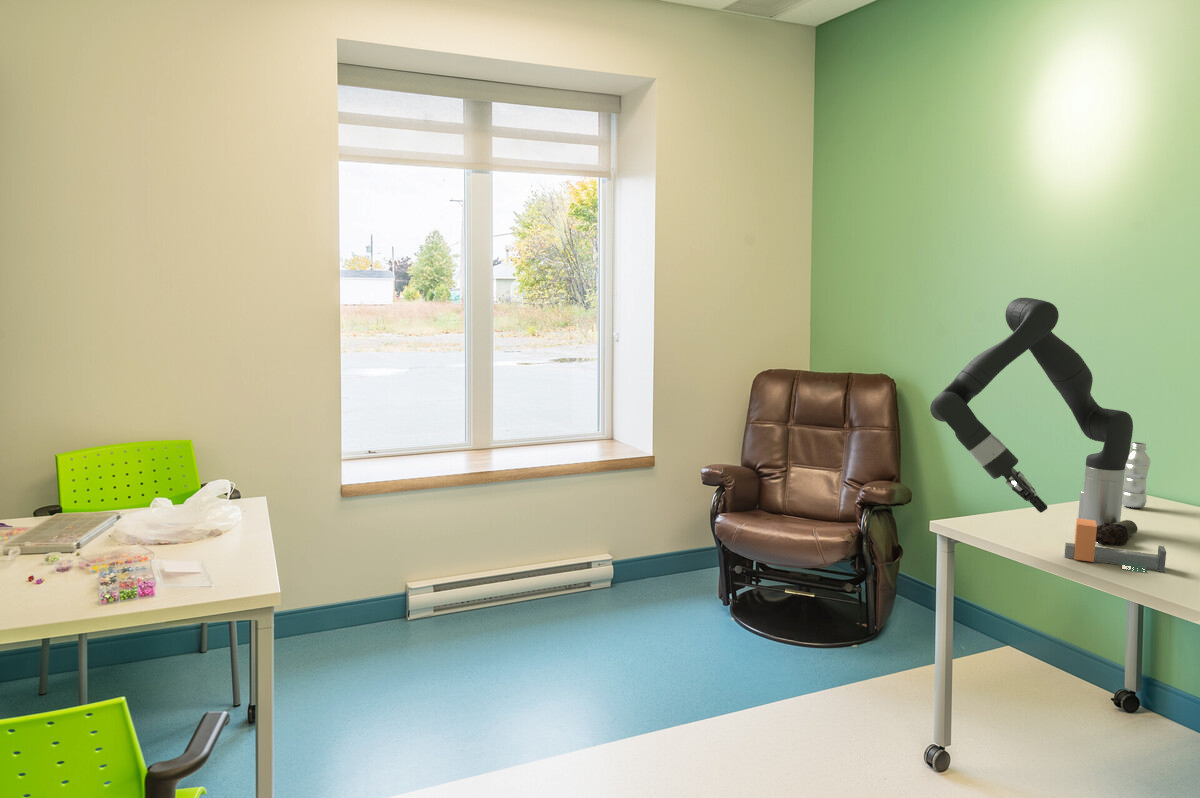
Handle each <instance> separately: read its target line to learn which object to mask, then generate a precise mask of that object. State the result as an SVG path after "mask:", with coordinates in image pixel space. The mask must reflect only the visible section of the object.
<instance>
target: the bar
mask: <svg viewBox="0 0 1200 798" xmlns="http://www.w3.org/2000/svg"><path fill="white" fill-rule="evenodd" d="M1157 546H1158V548H1157V549H1158V550H1157V554H1155V553H1146V552H1138V551H1132V550H1124V549H1117V548H1109V547H1103V546H1102V547H1101V546H1096V545H1095V554H1094V562H1093V563H1100V562H1102V563H1101V564H1107V563H1110V564H1109V565H1114V564H1117V566H1120V565H1125V566H1131V569H1130V570H1131V572H1135V571H1137V570H1138V572H1137V573H1142V572H1143V571H1145V573H1144V574H1148V571H1147V570H1150V569H1152V571H1157V570H1159V571H1158V572H1159V573H1163V572H1164V573H1165V568H1166V559H1167V557H1166V556H1167V550H1166V548H1165V545H1157ZM1074 555H1075V544H1074V543H1073V542H1065V546H1064V558H1067V559H1071V560H1072V559H1074ZM1074 560H1075V559H1074ZM1133 567H1134V568H1133ZM1127 568H1128V567H1127ZM1132 568H1133V569H1134V570H1133V569H1132ZM1137 568H1138V569H1137ZM1142 568H1143V569H1145V570H1143V569H1142ZM1128 569H1129V568H1128ZM1128 569H1127V570H1126V571H1128ZM1132 570H1133V571H1132ZM1140 571H1141V572H1140Z"/></svg>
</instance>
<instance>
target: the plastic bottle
mask: <svg viewBox="0 0 1200 798" xmlns="http://www.w3.org/2000/svg"><path fill="white" fill-rule="evenodd" d="M1146 450H1147V443H1145V442H1139V441H1131V446H1130V453H1129V457H1128V460H1127V462H1126V465H1125V475H1124V487H1123V498H1122V506H1124V507H1127V508H1130V507H1131V509H1142V508H1144V507H1145V506H1146V504H1147V501H1148V500H1147V494H1146V493H1147V492H1146V491H1147V489H1146V488H1147V479H1148V472H1149V469H1150V465H1151V458H1150V457H1149V455H1148V454H1147V452H1146Z"/></svg>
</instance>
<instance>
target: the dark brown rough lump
mask: <svg viewBox="0 0 1200 798" xmlns="http://www.w3.org/2000/svg"><path fill="white" fill-rule="evenodd" d="M1137 532H1138V525H1137V524H1136V523H1135V522H1134V521H1133V520H1130V519H1125V520H1120V522H1117V523H1113V524H1109V523H1104V524H1103V525H1098V526H1097V532H1096V542H1098V543H1097V544H1103V545H1104V544H1105V545H1117V546H1120V545H1121V546H1123V545H1126V544H1127V543H1128V542H1129V537H1130V536H1131V537H1132V536H1134V535H1135V534H1137ZM1121 546H1120V547H1121Z"/></svg>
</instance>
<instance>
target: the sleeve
mask: <svg viewBox="0 0 1200 798" xmlns="http://www.w3.org/2000/svg"><path fill="white" fill-rule="evenodd" d="M1074 532H1075V533H1074V543H1073V544H1075V555H1074V560H1077V561H1084V562H1089V563H1090V562H1091V563H1095V562H1094V554H1095V546H1096V544H1097V543H1096V532H1097V525H1096V521H1095V520H1087V519H1078V517H1077V518H1076V520H1075V531H1074Z"/></svg>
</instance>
